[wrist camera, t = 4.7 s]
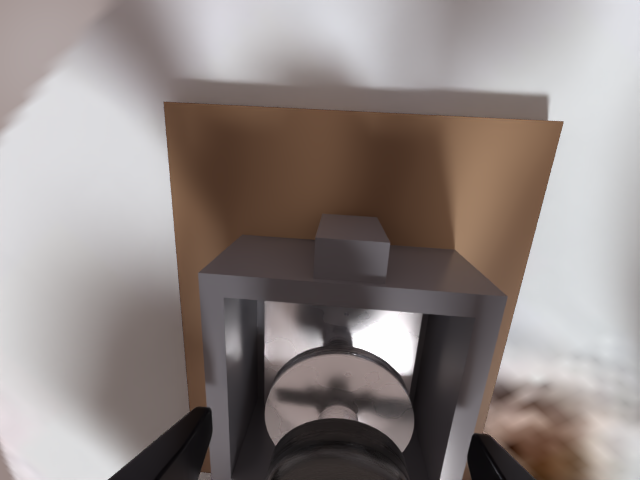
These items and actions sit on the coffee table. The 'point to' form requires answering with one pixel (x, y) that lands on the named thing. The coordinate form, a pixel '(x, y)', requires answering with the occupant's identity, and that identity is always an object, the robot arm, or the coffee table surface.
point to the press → (353, 292)
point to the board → (354, 192)
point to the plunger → (338, 391)
